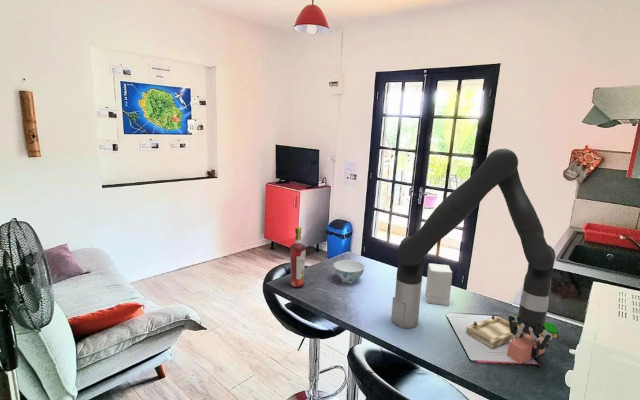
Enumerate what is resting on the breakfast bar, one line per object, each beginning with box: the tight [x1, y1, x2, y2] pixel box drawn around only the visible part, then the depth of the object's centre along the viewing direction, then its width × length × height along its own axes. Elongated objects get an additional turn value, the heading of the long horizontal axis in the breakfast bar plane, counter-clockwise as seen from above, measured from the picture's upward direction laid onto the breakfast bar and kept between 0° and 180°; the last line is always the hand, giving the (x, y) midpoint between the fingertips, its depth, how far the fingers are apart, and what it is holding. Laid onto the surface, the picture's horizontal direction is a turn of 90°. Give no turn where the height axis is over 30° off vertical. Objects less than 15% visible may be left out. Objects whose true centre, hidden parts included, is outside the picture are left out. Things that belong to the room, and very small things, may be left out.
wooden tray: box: [465, 315, 525, 349], centre depth 123 cm, size 18×10×4 cm, turn 118°
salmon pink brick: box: [506, 333, 546, 365], centre depth 112 cm, size 13×4×6 cm, turn 118°
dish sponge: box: [513, 313, 558, 339], centre depth 128 cm, size 7×14×2 cm, turn 58°
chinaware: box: [333, 259, 365, 284], centre depth 165 cm, size 15×15×8 cm
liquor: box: [289, 226, 307, 288], centre depth 156 cm, size 7×7×28 cm
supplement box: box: [425, 263, 453, 306], centre depth 147 cm, size 9×9×15 cm
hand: (526, 352), depth 112 cm, fingers closed on salmon pink brick, 4 cm apart
